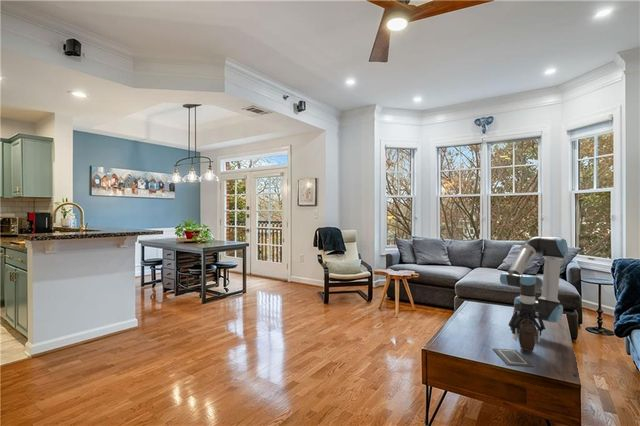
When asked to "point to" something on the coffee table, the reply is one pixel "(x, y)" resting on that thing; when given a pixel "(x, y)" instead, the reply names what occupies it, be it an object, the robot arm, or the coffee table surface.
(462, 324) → the coffee table surface
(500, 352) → the rest mat
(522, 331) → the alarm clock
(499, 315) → the coffee table surface
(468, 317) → the coffee table surface
